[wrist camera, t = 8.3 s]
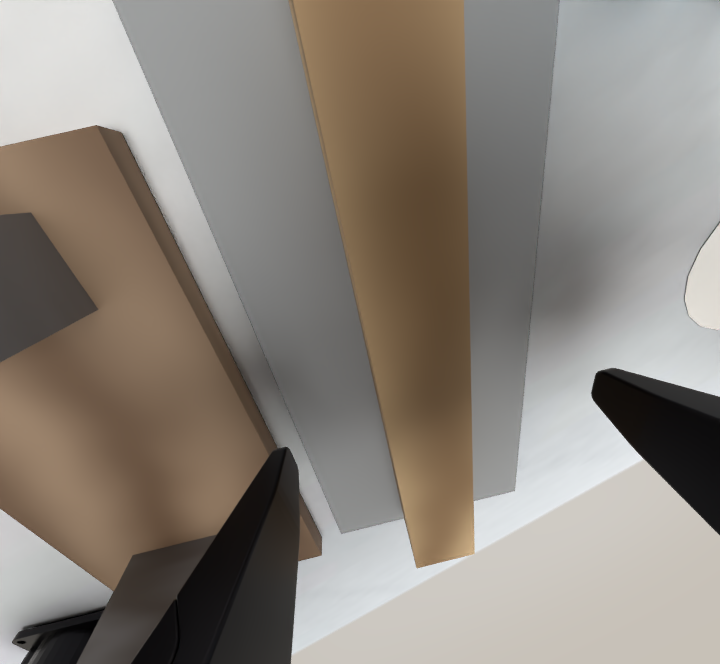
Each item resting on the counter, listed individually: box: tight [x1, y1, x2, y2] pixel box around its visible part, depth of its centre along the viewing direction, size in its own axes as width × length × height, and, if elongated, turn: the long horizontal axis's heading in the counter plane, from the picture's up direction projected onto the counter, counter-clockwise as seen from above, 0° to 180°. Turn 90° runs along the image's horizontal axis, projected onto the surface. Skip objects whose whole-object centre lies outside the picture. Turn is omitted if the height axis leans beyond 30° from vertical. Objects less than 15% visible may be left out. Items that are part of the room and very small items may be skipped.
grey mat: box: [112, 0, 560, 534], centre depth 12 cm, size 11×24×1 cm, turn 12°
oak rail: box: [288, 0, 474, 568], centre depth 10 cm, size 3×22×3 cm, turn 11°
